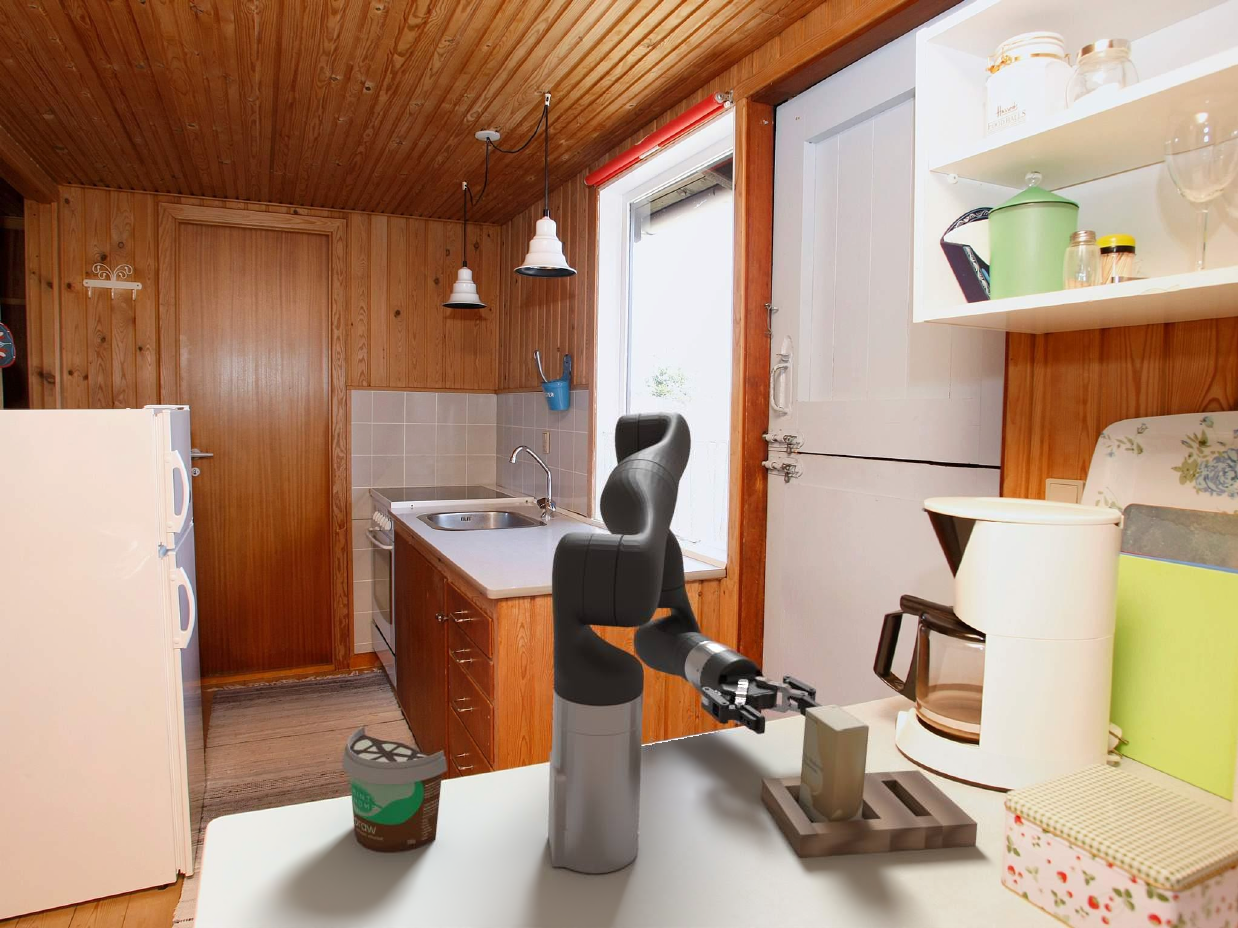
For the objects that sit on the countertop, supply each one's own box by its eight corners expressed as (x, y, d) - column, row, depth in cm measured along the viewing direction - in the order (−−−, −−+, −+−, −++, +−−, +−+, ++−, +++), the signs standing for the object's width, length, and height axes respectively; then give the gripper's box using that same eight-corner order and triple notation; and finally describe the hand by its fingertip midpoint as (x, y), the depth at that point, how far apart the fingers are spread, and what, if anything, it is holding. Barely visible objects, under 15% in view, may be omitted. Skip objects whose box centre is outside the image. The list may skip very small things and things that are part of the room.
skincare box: (796, 808, 92) (802, 706, 91) (828, 802, 93) (834, 702, 92) (830, 838, 86) (836, 729, 85) (863, 831, 87) (870, 724, 86)
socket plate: (799, 857, 83) (800, 834, 82) (760, 798, 94) (762, 778, 94) (975, 845, 86) (977, 823, 86) (917, 789, 98) (918, 770, 97)
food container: (316, 837, 84) (315, 746, 83) (360, 810, 89) (360, 724, 88) (405, 873, 78) (405, 775, 77) (446, 842, 84) (447, 751, 83)
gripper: (677, 654, 107) (743, 698, 92) (766, 643, 113) (842, 683, 98) (675, 708, 108) (741, 760, 93) (764, 694, 114) (838, 741, 99)
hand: (792, 721), depth 96 cm, fingers open, 8 cm apart
